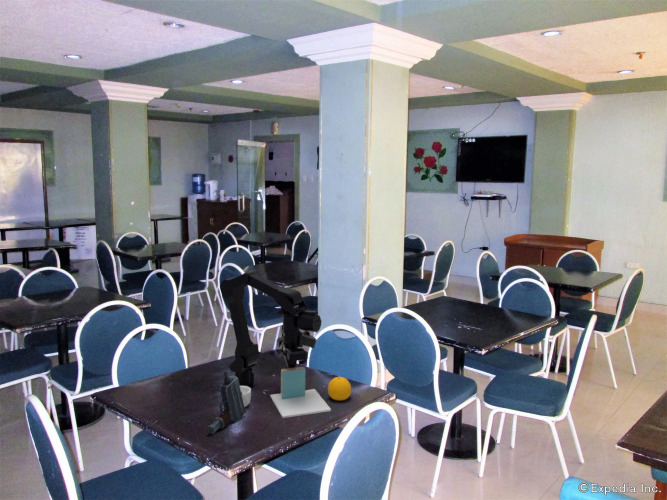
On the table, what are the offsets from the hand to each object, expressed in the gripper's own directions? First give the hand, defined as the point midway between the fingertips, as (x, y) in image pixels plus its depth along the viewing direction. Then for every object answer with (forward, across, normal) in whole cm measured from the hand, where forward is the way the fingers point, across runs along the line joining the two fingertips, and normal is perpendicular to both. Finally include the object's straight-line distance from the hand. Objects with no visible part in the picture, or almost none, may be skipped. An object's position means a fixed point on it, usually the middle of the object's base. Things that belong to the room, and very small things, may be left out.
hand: (291, 372), depth 185 cm
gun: (+9, -14, +24) cm, 29 cm away
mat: (+9, -6, -1) cm, 11 cm away
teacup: (+9, -2, +19) cm, 21 cm away
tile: (+8, -1, 0) cm, 8 cm away
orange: (+9, -7, -15) cm, 19 cm away
